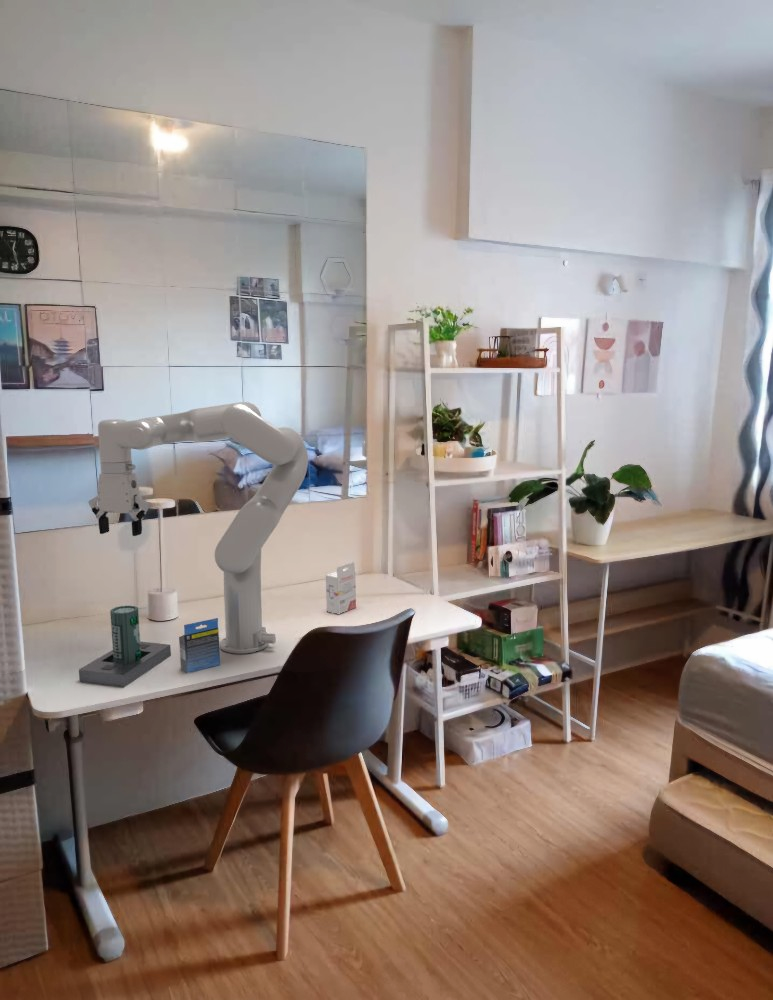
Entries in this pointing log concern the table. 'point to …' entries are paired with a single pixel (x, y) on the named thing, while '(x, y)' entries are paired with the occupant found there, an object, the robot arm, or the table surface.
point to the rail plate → (124, 666)
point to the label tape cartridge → (199, 646)
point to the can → (125, 634)
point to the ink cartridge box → (341, 589)
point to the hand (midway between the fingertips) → (120, 533)
